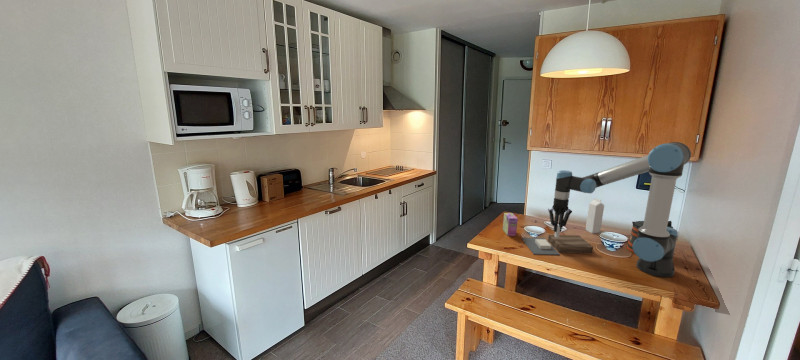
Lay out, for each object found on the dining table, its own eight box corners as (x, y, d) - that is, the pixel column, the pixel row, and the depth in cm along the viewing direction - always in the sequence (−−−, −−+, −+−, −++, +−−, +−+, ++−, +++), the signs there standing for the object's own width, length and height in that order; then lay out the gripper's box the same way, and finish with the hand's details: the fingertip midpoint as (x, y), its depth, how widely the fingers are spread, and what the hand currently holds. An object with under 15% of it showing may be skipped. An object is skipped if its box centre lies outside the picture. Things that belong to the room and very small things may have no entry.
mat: (559, 255, 180) (559, 254, 180) (533, 254, 181) (533, 253, 181) (544, 238, 201) (544, 238, 201) (521, 238, 202) (521, 237, 202)
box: (516, 235, 206) (517, 218, 203) (507, 235, 206) (508, 218, 203) (511, 229, 216) (512, 212, 213) (502, 229, 216) (503, 212, 214)
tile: (540, 245, 186) (540, 248, 187) (551, 245, 186) (550, 249, 186) (535, 239, 195) (534, 242, 195) (545, 239, 194) (545, 242, 195)
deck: (592, 253, 182) (593, 246, 181) (559, 252, 183) (559, 246, 182) (578, 241, 198) (579, 235, 197) (548, 240, 198) (548, 234, 198)
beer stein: (663, 249, 187) (670, 216, 182) (671, 260, 174) (679, 225, 169) (624, 243, 195) (629, 212, 190) (629, 254, 182) (635, 220, 177)
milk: (592, 233, 210) (596, 200, 205) (585, 230, 216) (589, 198, 210) (600, 232, 211) (605, 200, 206) (593, 229, 217) (597, 197, 211)
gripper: (570, 196, 187) (565, 234, 193) (547, 195, 188) (542, 234, 193) (576, 200, 180) (571, 239, 185) (552, 199, 181) (547, 239, 186)
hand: (556, 236), depth 189 cm, fingers closed
